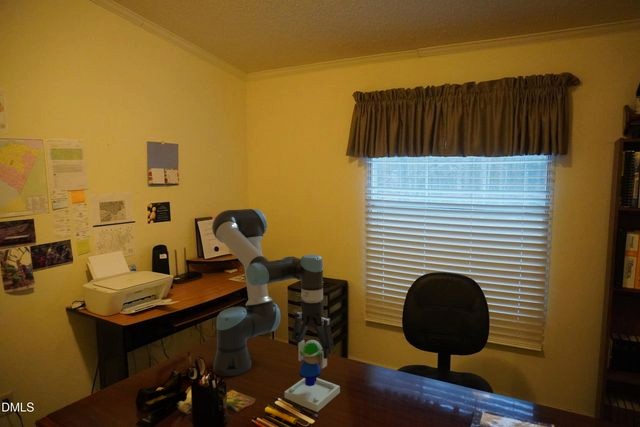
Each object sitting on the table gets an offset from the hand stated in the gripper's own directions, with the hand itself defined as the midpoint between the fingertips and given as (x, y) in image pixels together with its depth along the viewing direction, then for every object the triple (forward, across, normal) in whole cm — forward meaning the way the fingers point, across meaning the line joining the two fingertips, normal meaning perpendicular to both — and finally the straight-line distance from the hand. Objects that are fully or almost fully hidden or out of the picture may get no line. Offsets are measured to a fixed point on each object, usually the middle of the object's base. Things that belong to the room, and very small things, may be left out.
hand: (312, 363), depth 128 cm
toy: (+7, 0, 0) cm, 7 cm away
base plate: (+12, 0, 0) cm, 12 cm away
